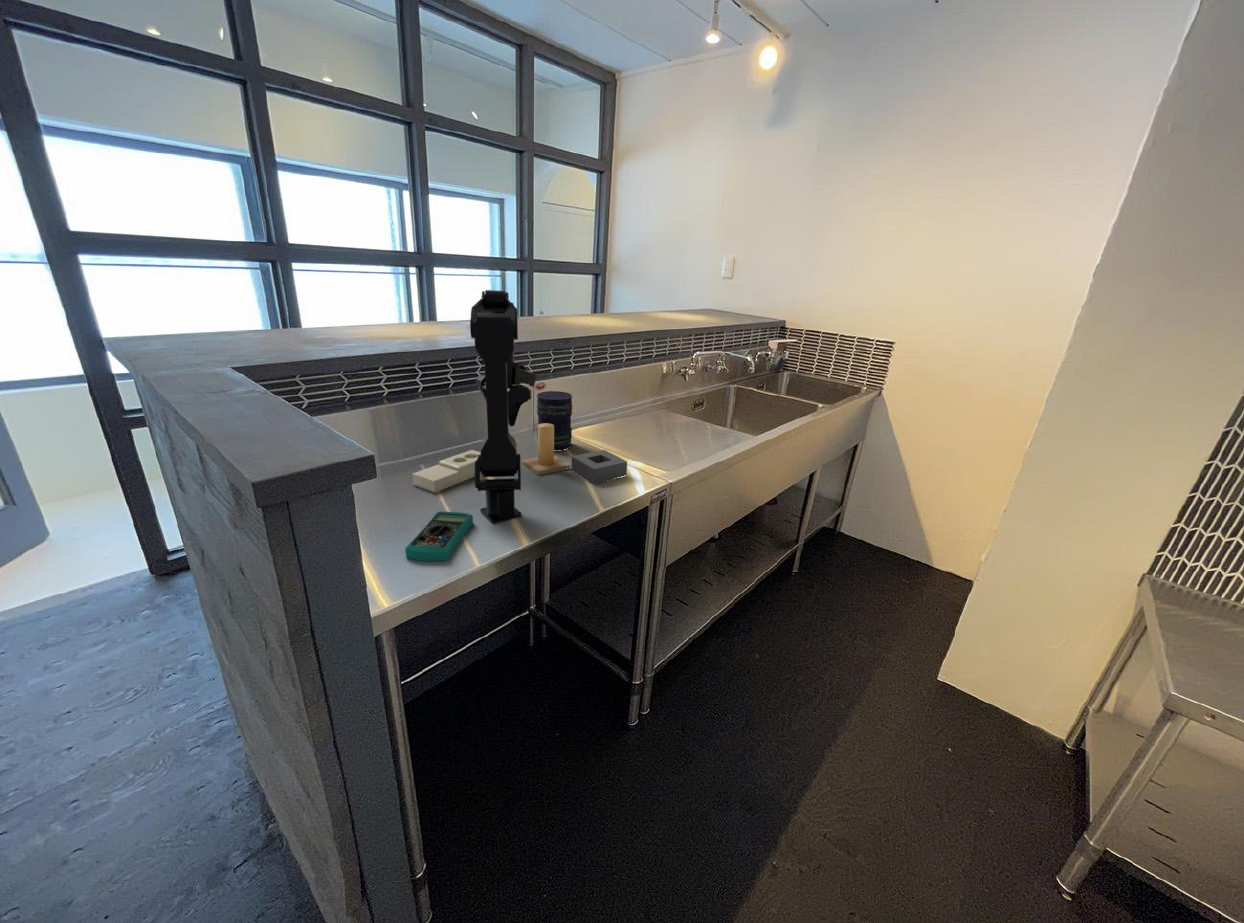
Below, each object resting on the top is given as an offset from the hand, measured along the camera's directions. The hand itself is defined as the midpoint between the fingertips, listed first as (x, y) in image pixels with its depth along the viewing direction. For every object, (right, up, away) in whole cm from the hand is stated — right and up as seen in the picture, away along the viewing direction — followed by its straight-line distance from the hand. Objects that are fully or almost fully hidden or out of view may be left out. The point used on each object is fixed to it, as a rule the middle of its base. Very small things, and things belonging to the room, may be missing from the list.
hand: (503, 421), depth 124 cm
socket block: (+23, -13, +3) cm, 27 cm away
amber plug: (+10, -10, +5) cm, 15 cm away
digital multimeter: (-4, -25, -31) cm, 40 cm away
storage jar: (+10, -6, +21) cm, 24 cm away
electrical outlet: (-11, -14, -3) cm, 18 cm away
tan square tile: (+10, -11, +6) cm, 16 cm away
